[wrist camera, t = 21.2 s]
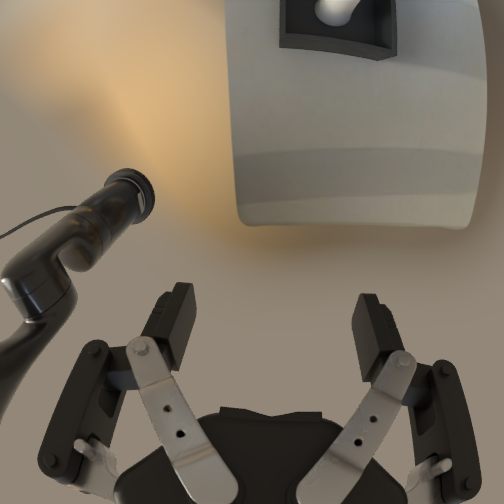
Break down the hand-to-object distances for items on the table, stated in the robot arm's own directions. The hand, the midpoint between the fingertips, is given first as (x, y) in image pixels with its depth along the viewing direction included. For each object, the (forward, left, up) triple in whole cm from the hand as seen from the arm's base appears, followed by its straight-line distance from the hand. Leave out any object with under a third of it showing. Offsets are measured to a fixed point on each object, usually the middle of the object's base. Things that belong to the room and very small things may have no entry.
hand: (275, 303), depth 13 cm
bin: (+8, +26, -38) cm, 47 cm away
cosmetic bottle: (+8, +26, -38) cm, 46 cm away
